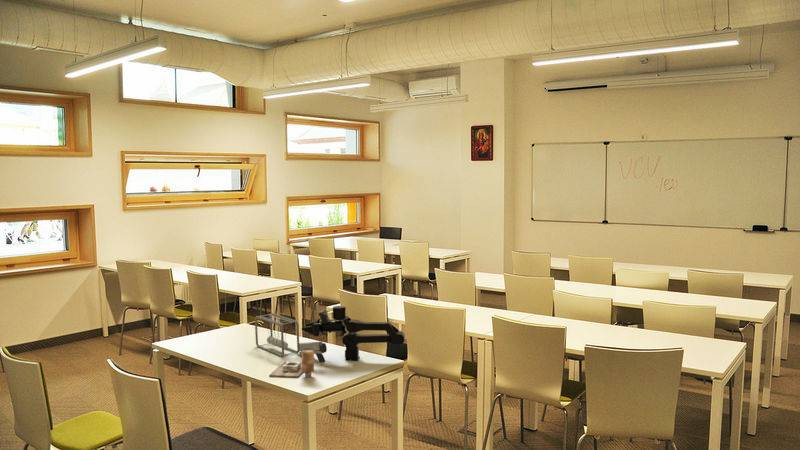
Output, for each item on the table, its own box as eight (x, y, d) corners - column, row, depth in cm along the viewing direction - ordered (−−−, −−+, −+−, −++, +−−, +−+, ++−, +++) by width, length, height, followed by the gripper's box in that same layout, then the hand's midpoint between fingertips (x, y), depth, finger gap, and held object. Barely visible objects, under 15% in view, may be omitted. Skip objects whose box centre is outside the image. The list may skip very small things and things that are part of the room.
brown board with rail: (311, 364, 305) (311, 357, 305) (298, 377, 284) (298, 370, 283) (284, 363, 307) (284, 356, 307) (269, 376, 286) (269, 369, 285)
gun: (325, 361, 306) (322, 342, 306) (298, 362, 324) (296, 343, 325) (329, 360, 307) (326, 341, 308) (302, 361, 326) (300, 342, 327)
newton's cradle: (300, 353, 323) (298, 321, 322) (282, 357, 317) (281, 324, 315) (272, 342, 346) (271, 312, 345) (255, 346, 339) (254, 315, 338)
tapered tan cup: (315, 374, 288) (315, 350, 287) (312, 378, 282) (311, 353, 282) (304, 374, 289) (303, 349, 288) (300, 378, 283) (300, 353, 282)
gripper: (336, 307, 322) (307, 308, 324) (329, 314, 304) (298, 315, 305) (337, 328, 323) (308, 328, 324) (330, 336, 304) (299, 336, 306)
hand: (304, 326), depth 315 cm, fingers open, 9 cm apart
